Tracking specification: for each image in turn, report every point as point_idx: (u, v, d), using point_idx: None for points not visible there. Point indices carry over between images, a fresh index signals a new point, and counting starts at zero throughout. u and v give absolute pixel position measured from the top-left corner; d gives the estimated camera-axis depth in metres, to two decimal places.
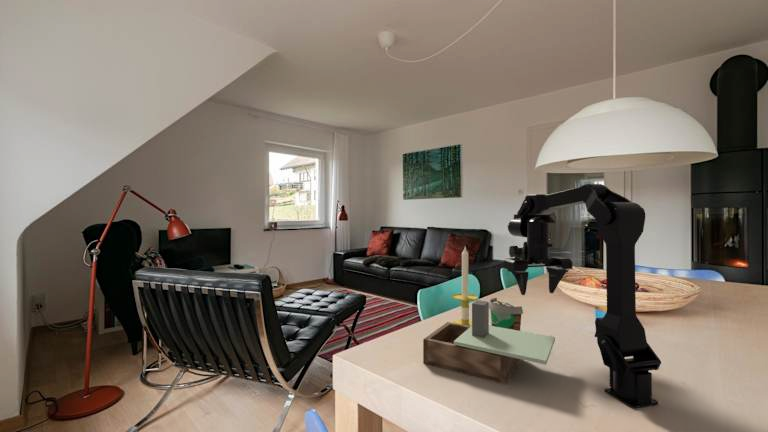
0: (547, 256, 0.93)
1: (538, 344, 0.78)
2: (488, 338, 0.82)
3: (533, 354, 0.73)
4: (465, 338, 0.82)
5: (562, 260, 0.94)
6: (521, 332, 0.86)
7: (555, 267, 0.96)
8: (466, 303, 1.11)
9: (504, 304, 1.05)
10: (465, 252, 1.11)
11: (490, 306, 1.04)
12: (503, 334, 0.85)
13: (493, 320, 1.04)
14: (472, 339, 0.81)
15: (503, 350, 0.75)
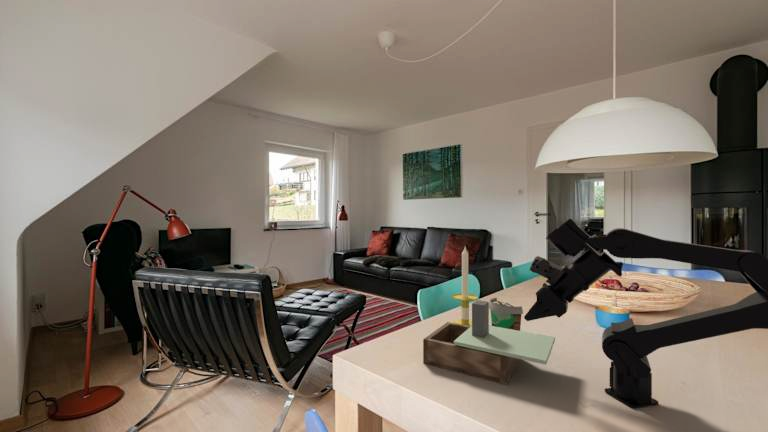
0: None
1: (538, 344, 0.78)
2: (488, 338, 0.82)
3: (533, 354, 0.73)
4: (465, 338, 0.82)
5: None
6: (521, 332, 0.86)
7: None
8: (466, 303, 1.11)
9: (504, 304, 1.05)
10: (465, 252, 1.11)
11: (490, 306, 1.04)
12: (503, 334, 0.85)
13: (493, 320, 1.04)
14: (472, 339, 0.81)
15: (503, 350, 0.75)
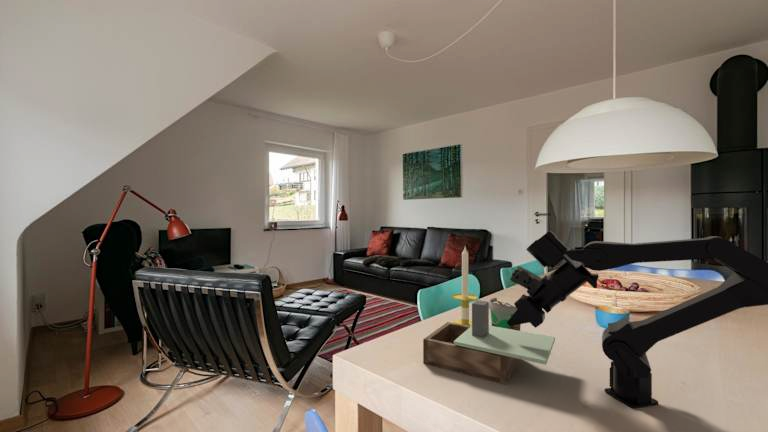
0: None
1: (538, 344, 0.78)
2: (488, 338, 0.82)
3: (533, 354, 0.73)
4: (465, 338, 0.82)
5: None
6: (521, 332, 0.86)
7: None
8: (466, 303, 1.11)
9: (504, 304, 1.05)
10: (465, 252, 1.11)
11: (490, 306, 1.04)
12: (503, 334, 0.85)
13: (493, 320, 1.04)
14: (472, 339, 0.81)
15: (503, 350, 0.75)
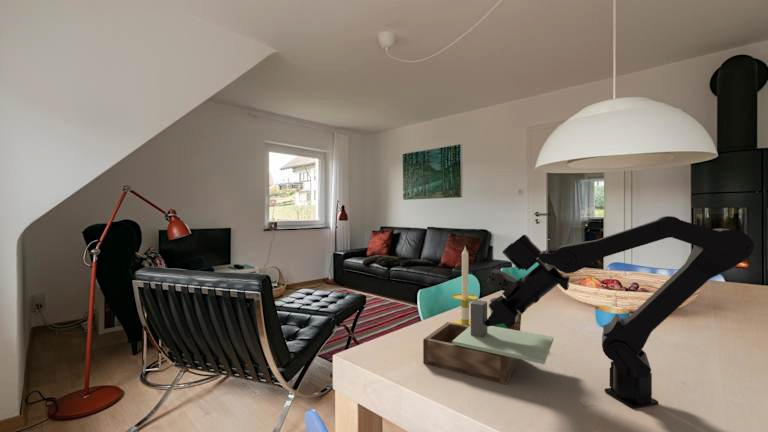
0: None
1: (537, 344, 0.78)
2: (487, 338, 0.82)
3: (532, 353, 0.73)
4: (464, 338, 0.82)
5: None
6: (520, 331, 0.87)
7: None
8: (466, 303, 1.11)
9: None
10: (465, 252, 1.11)
11: None
12: (501, 334, 0.85)
13: None
14: (471, 339, 0.81)
15: (501, 350, 0.75)
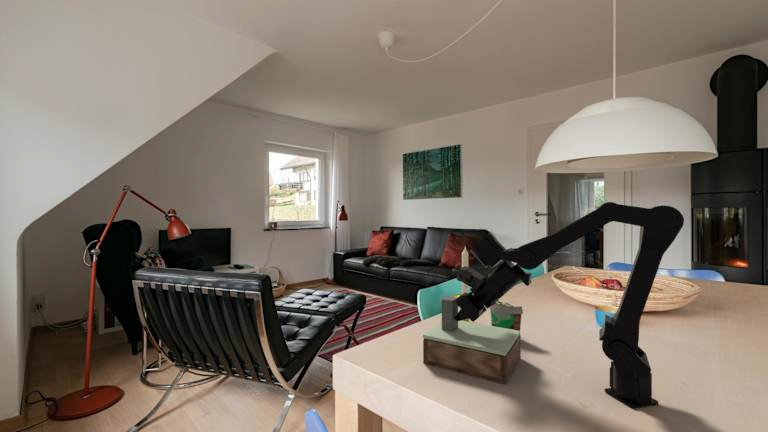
0: None
1: (502, 337, 0.82)
2: (456, 332, 0.86)
3: (495, 346, 0.77)
4: (434, 332, 0.86)
5: None
6: (489, 326, 0.91)
7: (478, 303, 0.86)
8: None
9: (504, 304, 1.05)
10: (465, 252, 1.11)
11: (490, 306, 1.04)
12: (471, 328, 0.89)
13: (493, 320, 1.04)
14: (441, 333, 0.86)
15: (467, 343, 0.79)
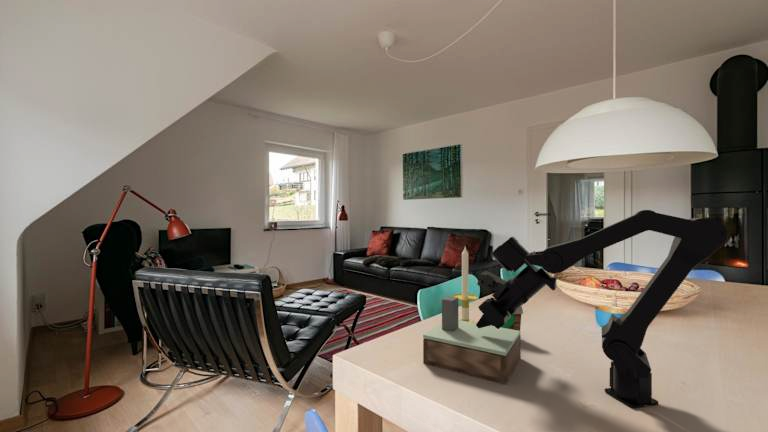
0: None
1: (503, 337, 0.82)
2: (456, 332, 0.86)
3: (495, 346, 0.77)
4: (435, 332, 0.86)
5: None
6: (490, 326, 0.91)
7: None
8: (466, 303, 1.11)
9: None
10: (465, 252, 1.11)
11: None
12: (471, 328, 0.89)
13: None
14: (441, 333, 0.86)
15: (468, 343, 0.79)
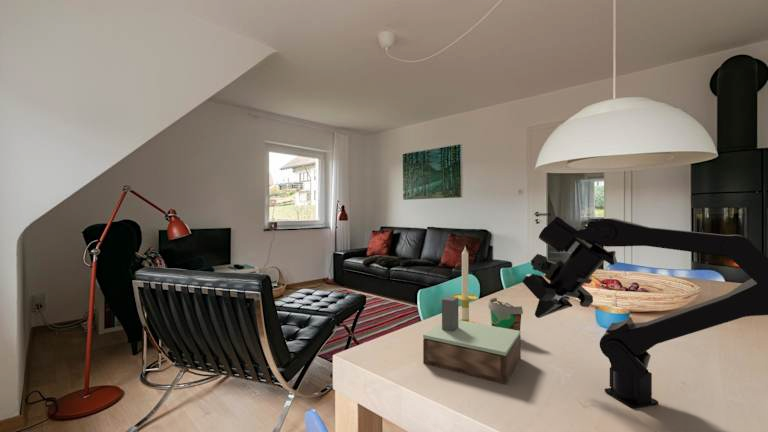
0: (577, 291, 0.75)
1: (503, 337, 0.82)
2: (456, 332, 0.86)
3: (495, 346, 0.77)
4: (435, 332, 0.86)
5: (586, 297, 0.77)
6: (490, 326, 0.91)
7: None
8: (466, 303, 1.11)
9: (504, 304, 1.05)
10: (465, 252, 1.11)
11: (490, 306, 1.04)
12: (471, 328, 0.89)
13: (493, 320, 1.04)
14: (441, 333, 0.86)
15: (468, 343, 0.79)
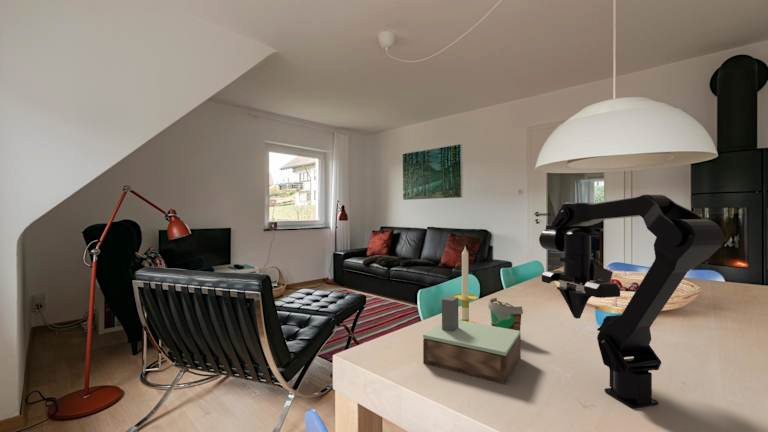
0: (571, 274, 0.80)
1: (503, 337, 0.82)
2: (456, 332, 0.86)
3: (495, 346, 0.77)
4: (435, 332, 0.86)
5: (587, 283, 0.75)
6: (490, 326, 0.91)
7: None
8: (466, 303, 1.11)
9: (504, 304, 1.05)
10: (465, 252, 1.11)
11: (490, 306, 1.04)
12: (471, 328, 0.89)
13: (493, 320, 1.04)
14: (441, 333, 0.86)
15: (468, 343, 0.79)
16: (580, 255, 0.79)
